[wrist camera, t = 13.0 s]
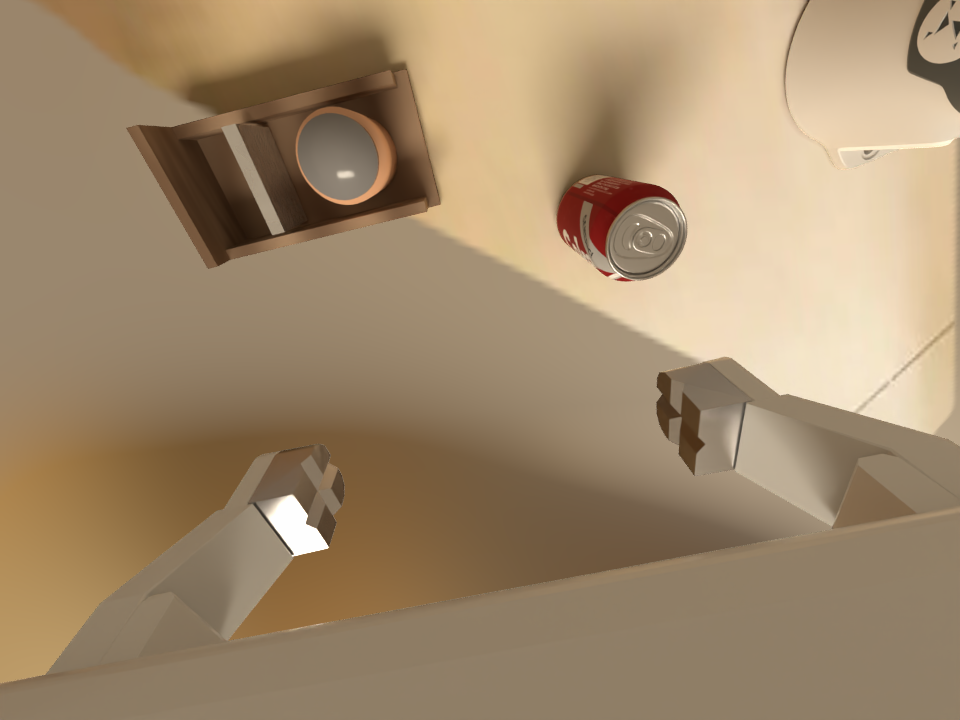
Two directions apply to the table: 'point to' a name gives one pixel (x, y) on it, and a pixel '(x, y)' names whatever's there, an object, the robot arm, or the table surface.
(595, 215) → the soda can
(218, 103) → the table surface
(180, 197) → the tray
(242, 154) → the block
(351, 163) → the jar
